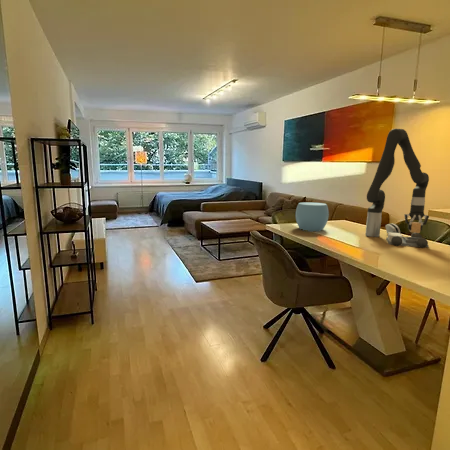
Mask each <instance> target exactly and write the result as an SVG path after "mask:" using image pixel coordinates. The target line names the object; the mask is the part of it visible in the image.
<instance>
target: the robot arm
mask: <svg viewBox="0 0 450 450" xmlns="http://www.w3.org/2000/svg"><path fill="white" fill-rule="evenodd" d="M385 141H386V142H385V145H384V149H383V152H382V154H381V157H380V160H379V162H378V166H377V168H376V171H375V175H374V177H373V180H372V182H371V185H370V186H369V189H368V191H367V194H366V200H367V202H368V203H370V204H371V203H372V204H371V206H369V207H368V209H367V215H366V216H367V217H366V221H365V222H366V224H365V225H366V226H365V237H371V238H372V237H373V238H378V237H380V234H381V225H382V224H381V223H382V213H383V210H384V207H385V202H386V194H385V191H384V190H383V189H381V187H382V186H383V183H385V181H386V180H387V179H388V178H389V177H390V176H391V174H392V172H393V169H394V167H395V163H396V162H395V160H396V159H395V153H396V152H395V151H396V149H397V146H398V145H399V147H400V149H401V151H402V154H403V155H402V156H403V161H404V164H405V165H406V167H407V168H408V171H409V175H410V178H411V180H412V182H413V183H415V184H416V185H415V187H414V188H413V189H412V195H411V200H410V201H411V202H410V210H409V213H405V214H404V222H405V224H407V225H408V226H407V230H408V231H409V232H410V231H411V224H412V222H414V221H418V222H419V223H421V228H420V232H421V231H423V226H425V225H427V223H428V220H429V218H430V216H429V215H428V214H425V207H426V206H425V204H426V191H427V187H428V185H429V183H430V182H429V181H430V176H429V174H428V173H426V172H423V171H422V170H421V169H422V168H421V167H422V165H421V162H420V161H419V159H418V157H417V156H416V153H415V151H414V149H413V147H412V143H411V141H410V138H409V133H408V132H407V131H406V130H405V129H402V128H392V129H391V130H389V132H388V134H387V136H386V140H385ZM409 217H410V219H408V218H409ZM423 217H424V220H422V219H423Z"/></svg>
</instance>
